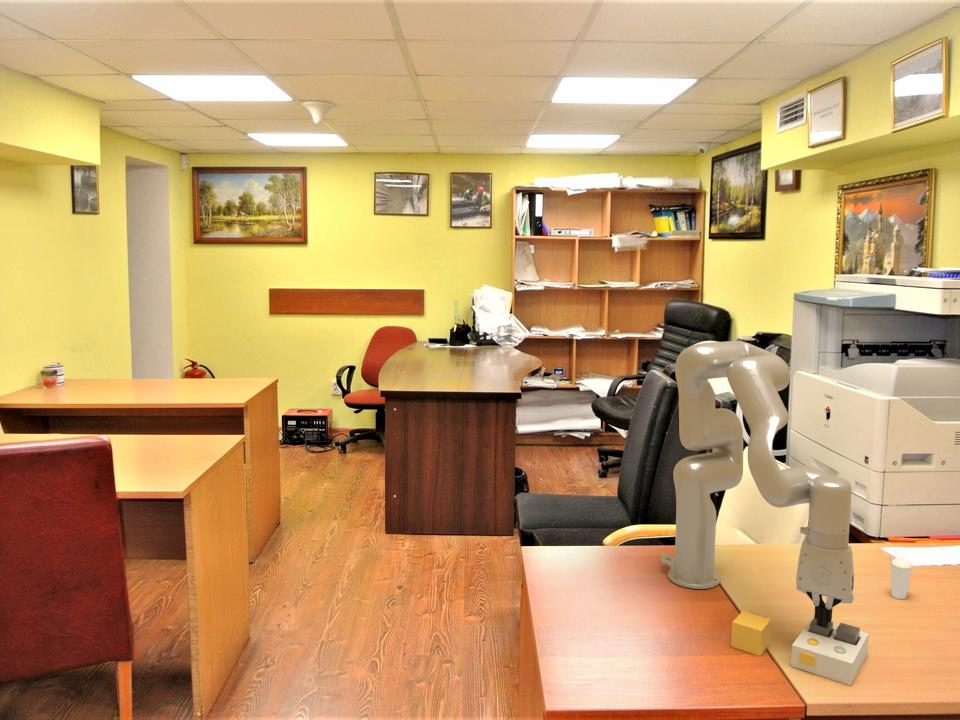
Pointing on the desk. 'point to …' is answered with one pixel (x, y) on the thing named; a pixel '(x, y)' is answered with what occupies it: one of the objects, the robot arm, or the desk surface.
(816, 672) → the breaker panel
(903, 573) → the milkshake
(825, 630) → the button
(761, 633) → the cap
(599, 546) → the desk surface
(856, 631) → the block
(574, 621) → the desk surface
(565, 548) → the desk surface
